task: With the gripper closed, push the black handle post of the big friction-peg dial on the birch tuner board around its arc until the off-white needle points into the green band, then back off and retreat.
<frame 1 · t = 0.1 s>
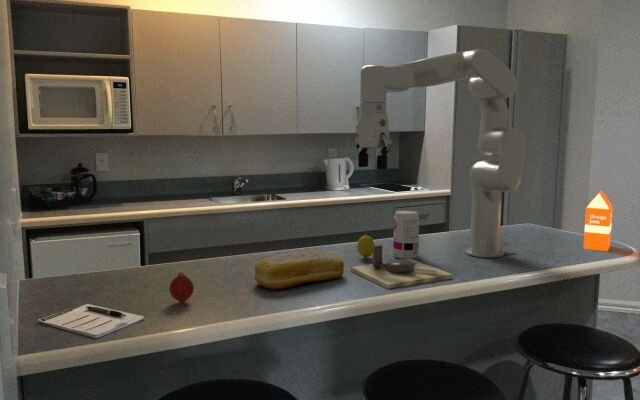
hand: (372, 168, 164), 31 cm above the countertop, tool pointing down, fingers open, 9 cm apart
orange juice: (596, 247, 197), on the countertop
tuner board: (400, 274, 163), on the countertop
supplement can: (405, 257, 185), on the countertop
bread: (299, 282, 158), on the countertop
onion: (182, 303, 139), on the countertop
lemon: (365, 259, 182), on the countertop
peg dial: (404, 258, 162), point 5 cm above the countertop, hinge at -50.0°
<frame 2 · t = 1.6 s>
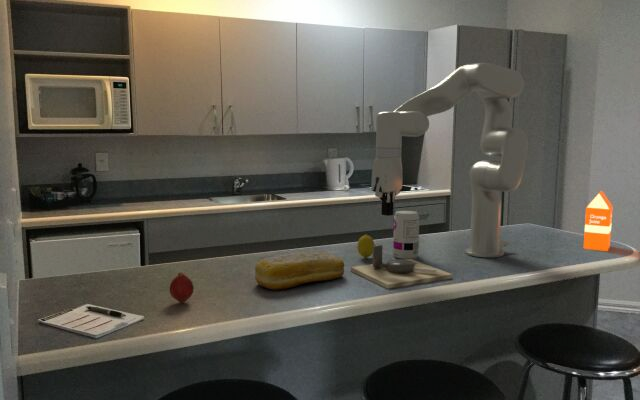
hand: (387, 214, 167), 17 cm above the countertop, tool pointing down, fingers closed
nothing on the countertop moved.
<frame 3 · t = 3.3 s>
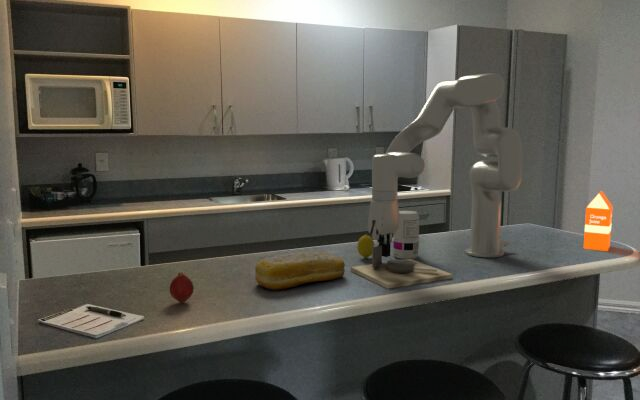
hand: (384, 255, 168), 4 cm above the countertop, tool pointing down, fingers closed
peg dial: (404, 258, 162), point 5 cm above the countertop, hinge at -44.5°, touching gripper
everything else where it was.
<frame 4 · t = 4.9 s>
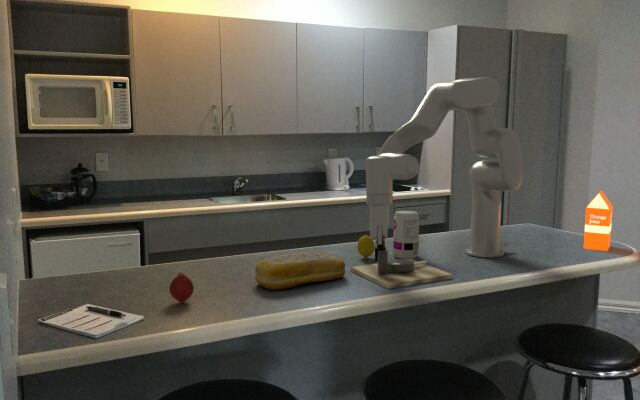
hand: (380, 260, 163), 4 cm above the countertop, tool pointing down, fingers closed
peg dial: (403, 257, 163), point 5 cm above the countertop, hinge at 8.9°, touching gripper
everything else where it was.
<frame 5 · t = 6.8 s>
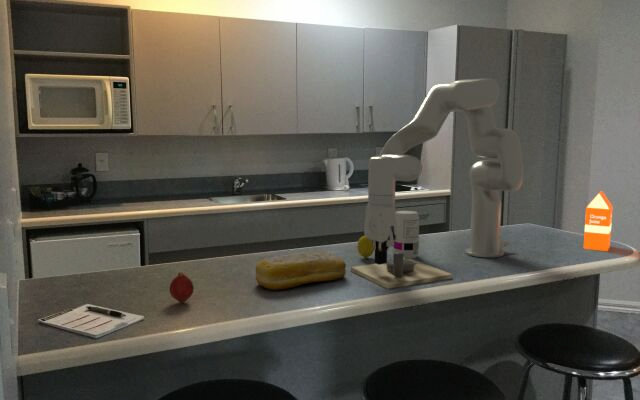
hand: (380, 263, 159), 4 cm above the countertop, tool pointing down, fingers closed
peg dial: (400, 257, 164), point 5 cm above the countertop, hinge at 50.4°
everything else where it was.
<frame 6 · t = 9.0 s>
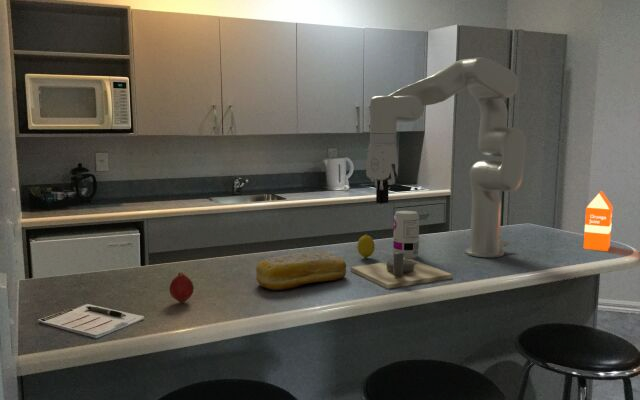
hand: (382, 202, 162), 21 cm above the countertop, tool pointing down, fingers closed
nothing on the countertop moved.
at the end: peg dial at +50° (first picture: -50°) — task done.
